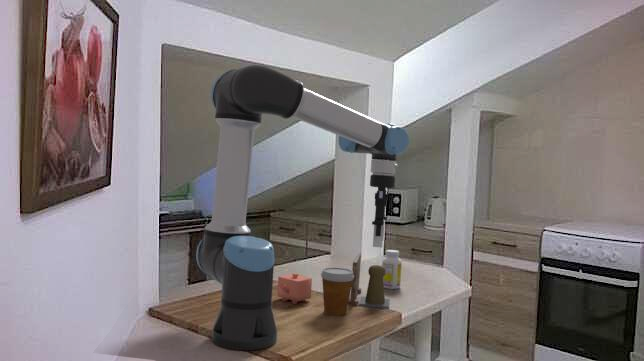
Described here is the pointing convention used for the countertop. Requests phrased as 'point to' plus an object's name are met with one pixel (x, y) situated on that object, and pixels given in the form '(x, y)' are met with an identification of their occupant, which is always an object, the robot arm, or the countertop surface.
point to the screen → (355, 280)
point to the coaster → (364, 303)
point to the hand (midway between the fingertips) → (378, 243)
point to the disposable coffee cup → (336, 290)
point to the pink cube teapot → (294, 287)
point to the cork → (376, 285)
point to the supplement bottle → (392, 269)
